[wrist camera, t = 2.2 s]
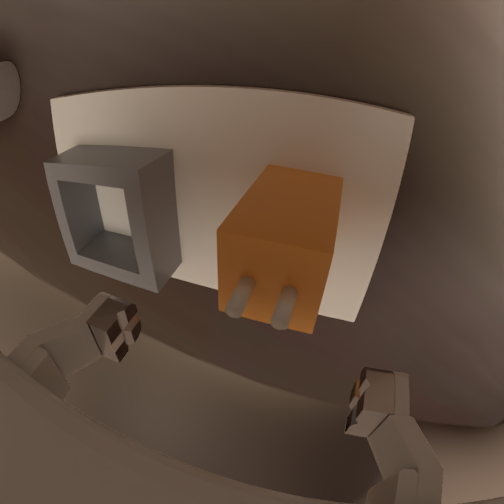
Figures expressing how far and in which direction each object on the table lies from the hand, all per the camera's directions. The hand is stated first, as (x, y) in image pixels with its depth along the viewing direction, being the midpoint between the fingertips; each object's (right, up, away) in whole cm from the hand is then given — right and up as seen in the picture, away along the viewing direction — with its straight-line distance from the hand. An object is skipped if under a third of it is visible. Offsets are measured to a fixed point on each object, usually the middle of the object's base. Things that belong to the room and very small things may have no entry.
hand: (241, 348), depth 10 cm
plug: (+3, +6, +7) cm, 9 cm away
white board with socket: (-3, +7, +10) cm, 13 cm away
